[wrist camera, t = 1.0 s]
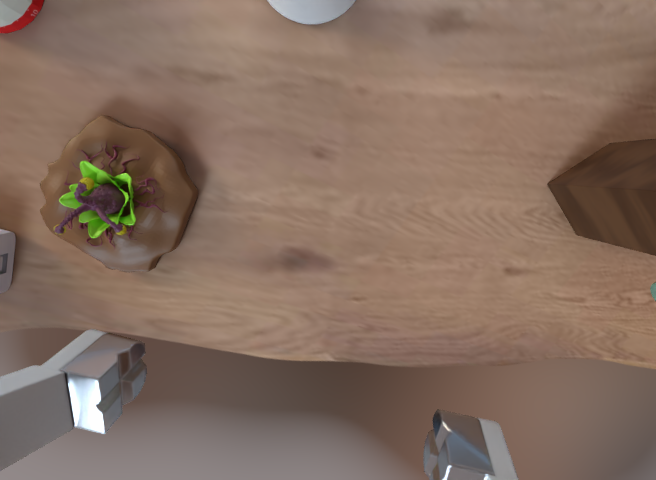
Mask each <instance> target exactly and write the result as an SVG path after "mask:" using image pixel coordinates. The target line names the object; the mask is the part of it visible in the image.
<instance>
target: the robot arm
mask: <svg viewBox="0 0 656 480" xmlns="http://www.w3.org/2000/svg"><path fill="white" fill-rule="evenodd" d="M267 1H268V2H269V3H270V5H271V6H272V7H273V8H274V9H275V10H276V11H277V12H279V13H280V14H281V15H283V16H284V17H286V18H288V19H290V20H292V21H295V22H298V23H302V24H321V23H325V22H328V21H331V20H333V19H335V18H337V17H339V16H340V15H342V14H343V13H344V12H346V11H347V10H348V9H349V8H350V7H351V6H352V5H353V3H354V2H355V1H356V0H267ZM145 353H146V351H145V343H143V342H142V341H138V340H135V339H131V338H127V337H123V336H119V335H115V334H112V333H106V332H102V331H98V330H95V329H91V330H87V331H85V332H84V333H83V334H81V335H80V336H79V337H78V338H76V339H75V340H74V341H72V342H71V343H70V344H69V345H67V346H66V347H65V348H63V349H62V350H61V351H59V352H58V353H57V354H56V355H54V356H53V357H52V358H51V359H49V360H48V361H47V362H46V363H44V364H43V365H41V366H36V365H34V366H31V367H28V368H25V369H22V370H19V371H16V372H13V373H10V374H7V375H4V376H1V377H0V471H1V470H3V469H5V468H6V467H8V466H10V465H11V464H13V463H15V462H17V461H19V460H20V459H22V458H24V457H26V456H27V455H29V454H30V453H32V452H34V451H36V450H38V449H39V448H41V447H43V446H45V445H46V444H48V443H50V442H52V441H53V440H55V439H57V438H58V437H60V436H62V435H64V434H65V433H67V432H69V431H71V430H72V429H73V427H76V428H81V429H86V430H90V431H94V432H99V433H103V434H105V433H106V432H107V431H108V430H109V428H110V427H111V426H112V425H113V424H114V422H115V421H116V420H117V419H118V418H119V417H120V415H121V414H122V405H124V404H126V403H128V402H130V401H133V400H134V399H135V397H136V396H137V395H138V394H139V392H140V390H141V389H142V386H143V384H144V382H145V379H146V374H147V368H146V364H145V363H144V362H143V360H142V359H141V358H142V357H143V356H144V354H145ZM433 428H434V429H433V430H431V431H429V432H428V435H427V438H426V441H425V447H424V472H425V473H426V475H427V476H428V477H429V480H519V479H518V476H517V474H516V471H515V468H514V465H513V462H512V459H511V456H510V454H509V450H508V447H507V444H506V441H505V439H504V436H503V433H502V430H501V427H500V425H499V424H498V423H497V422H495V421H491V420H486V419H481V418H475V417H471V416H467V415H462V414H457V413H453V412H449V411H444V410H439V409H438V410H437V411H436V412H435V414H434V417H433Z"/></svg>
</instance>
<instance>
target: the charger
mask: <svg viewBox="0 0 656 480" xmlns="http://www.w3.org/2000/svg"><path fill="white" fill-rule="evenodd" d="M15 243H16V238H15V234H14V233H13V232H10V231H6V230H2V229H0V294H1V293H3V292H6V291H7V290H8V289H9V287H10V285H11V281H12V272H13V263H14V253H15Z"/></svg>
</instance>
